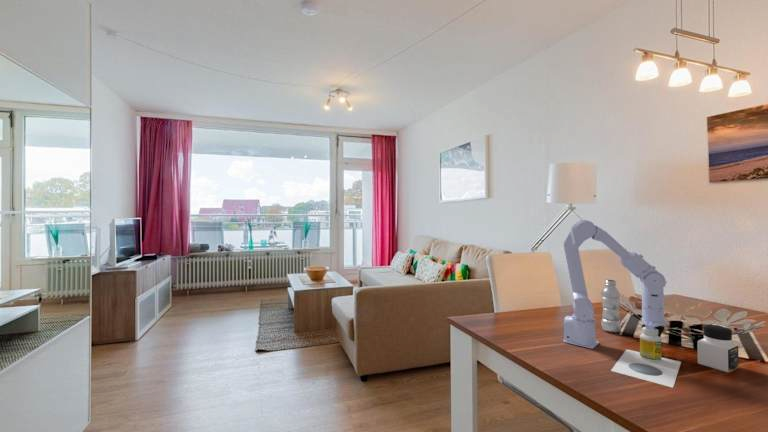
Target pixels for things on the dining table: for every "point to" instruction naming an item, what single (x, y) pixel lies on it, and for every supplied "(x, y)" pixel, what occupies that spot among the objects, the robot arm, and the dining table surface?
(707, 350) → the medicine bottle
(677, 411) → the dining table surface
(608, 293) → the plastic bottle
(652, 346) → the supplement bottle
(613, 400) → the dining table surface
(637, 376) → the card
